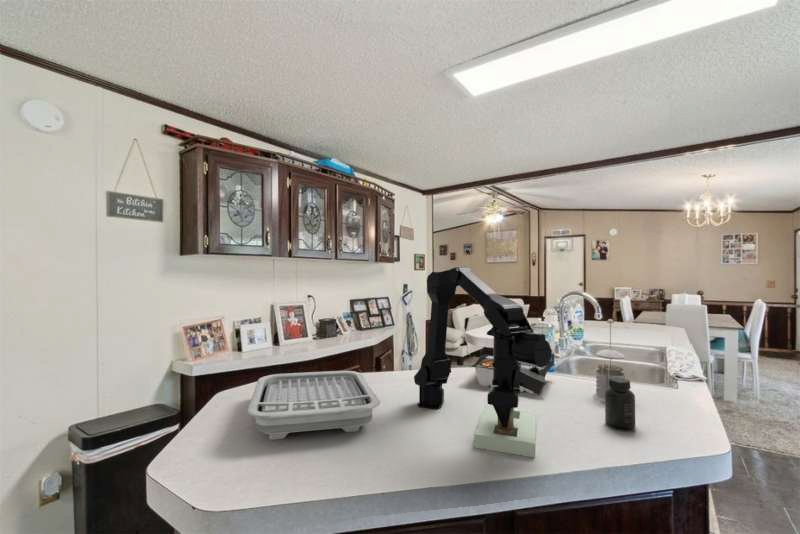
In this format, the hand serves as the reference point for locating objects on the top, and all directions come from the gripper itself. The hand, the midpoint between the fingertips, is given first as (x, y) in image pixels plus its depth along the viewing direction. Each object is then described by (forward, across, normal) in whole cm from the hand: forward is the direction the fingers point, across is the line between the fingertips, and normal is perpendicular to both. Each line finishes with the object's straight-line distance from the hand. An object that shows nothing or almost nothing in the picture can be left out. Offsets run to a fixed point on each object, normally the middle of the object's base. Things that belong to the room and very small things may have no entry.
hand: (505, 424), depth 88 cm
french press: (+5, +43, -28) cm, 52 cm away
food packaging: (+5, +49, +2) cm, 49 cm away
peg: (+4, 0, 0) cm, 4 cm away
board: (+4, +6, 0) cm, 7 cm away
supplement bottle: (+5, +21, -27) cm, 35 cm away
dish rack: (+5, -1, +51) cm, 51 cm away
